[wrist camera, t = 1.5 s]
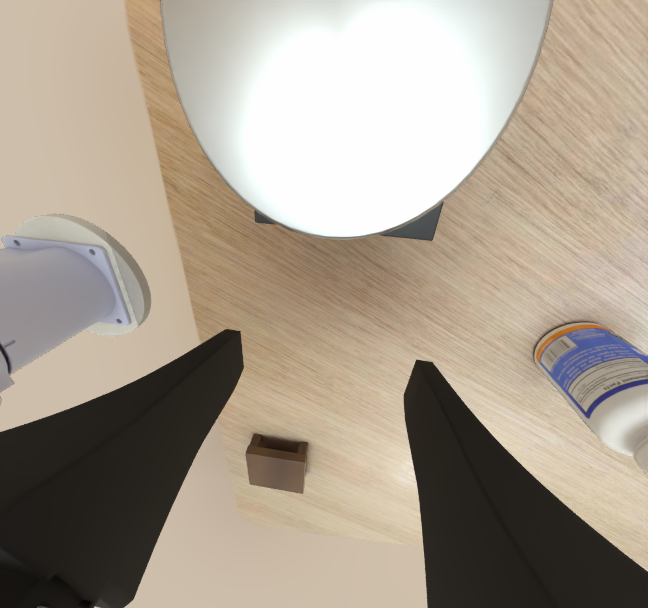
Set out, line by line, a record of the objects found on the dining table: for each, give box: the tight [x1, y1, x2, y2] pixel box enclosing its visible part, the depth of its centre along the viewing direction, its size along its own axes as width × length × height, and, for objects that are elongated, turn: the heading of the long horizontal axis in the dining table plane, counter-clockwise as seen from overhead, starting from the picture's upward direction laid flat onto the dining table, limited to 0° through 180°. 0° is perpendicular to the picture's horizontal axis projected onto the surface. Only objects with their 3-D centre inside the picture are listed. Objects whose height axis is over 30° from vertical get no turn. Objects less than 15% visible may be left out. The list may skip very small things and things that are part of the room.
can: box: [160, 0, 554, 240], centre depth 6 cm, size 5×5×7 cm
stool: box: [246, 434, 308, 494], centre depth 32 cm, size 7×7×2 cm
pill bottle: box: [534, 322, 648, 475], centre depth 16 cm, size 5×5×10 cm
